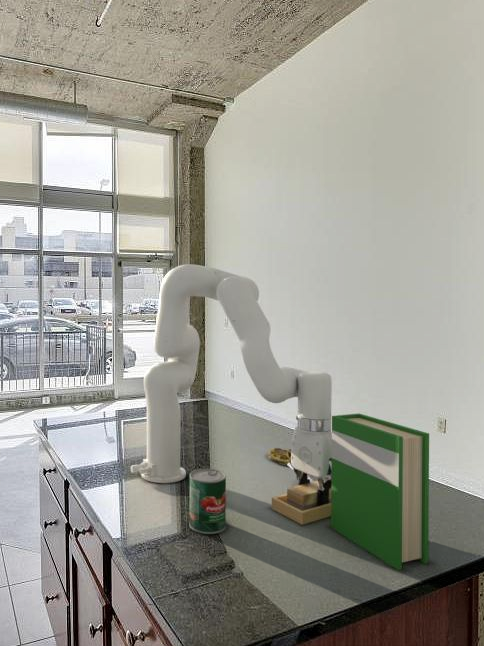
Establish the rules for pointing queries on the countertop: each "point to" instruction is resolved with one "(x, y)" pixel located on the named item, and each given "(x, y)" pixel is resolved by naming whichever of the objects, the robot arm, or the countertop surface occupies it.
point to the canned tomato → (207, 501)
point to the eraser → (304, 496)
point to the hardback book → (381, 487)
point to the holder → (297, 515)
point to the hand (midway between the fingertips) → (313, 500)
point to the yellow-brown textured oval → (280, 455)
